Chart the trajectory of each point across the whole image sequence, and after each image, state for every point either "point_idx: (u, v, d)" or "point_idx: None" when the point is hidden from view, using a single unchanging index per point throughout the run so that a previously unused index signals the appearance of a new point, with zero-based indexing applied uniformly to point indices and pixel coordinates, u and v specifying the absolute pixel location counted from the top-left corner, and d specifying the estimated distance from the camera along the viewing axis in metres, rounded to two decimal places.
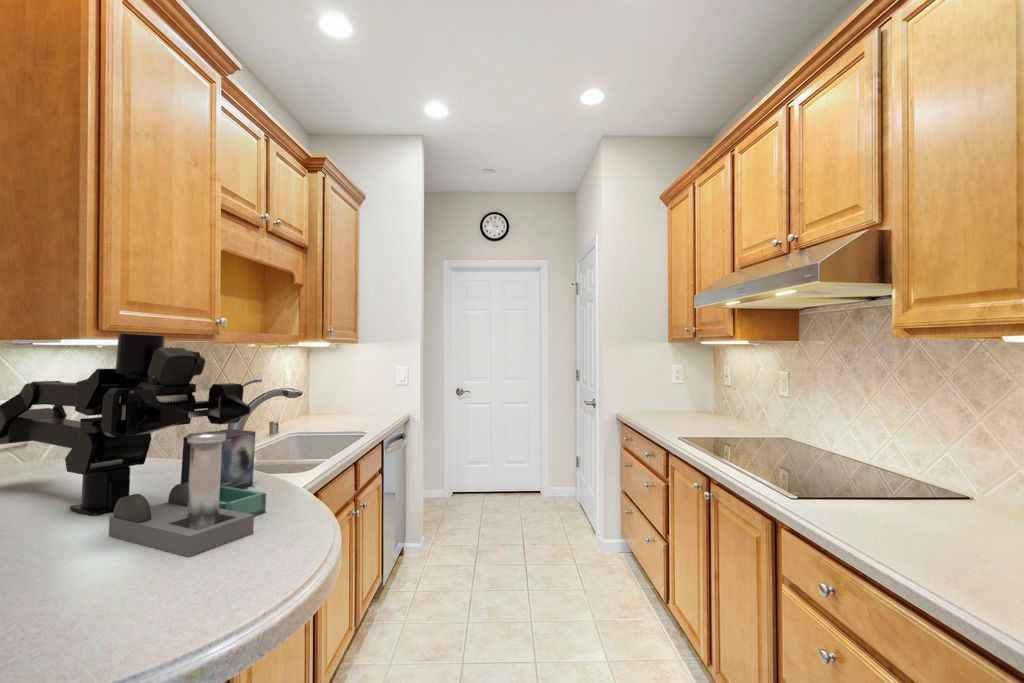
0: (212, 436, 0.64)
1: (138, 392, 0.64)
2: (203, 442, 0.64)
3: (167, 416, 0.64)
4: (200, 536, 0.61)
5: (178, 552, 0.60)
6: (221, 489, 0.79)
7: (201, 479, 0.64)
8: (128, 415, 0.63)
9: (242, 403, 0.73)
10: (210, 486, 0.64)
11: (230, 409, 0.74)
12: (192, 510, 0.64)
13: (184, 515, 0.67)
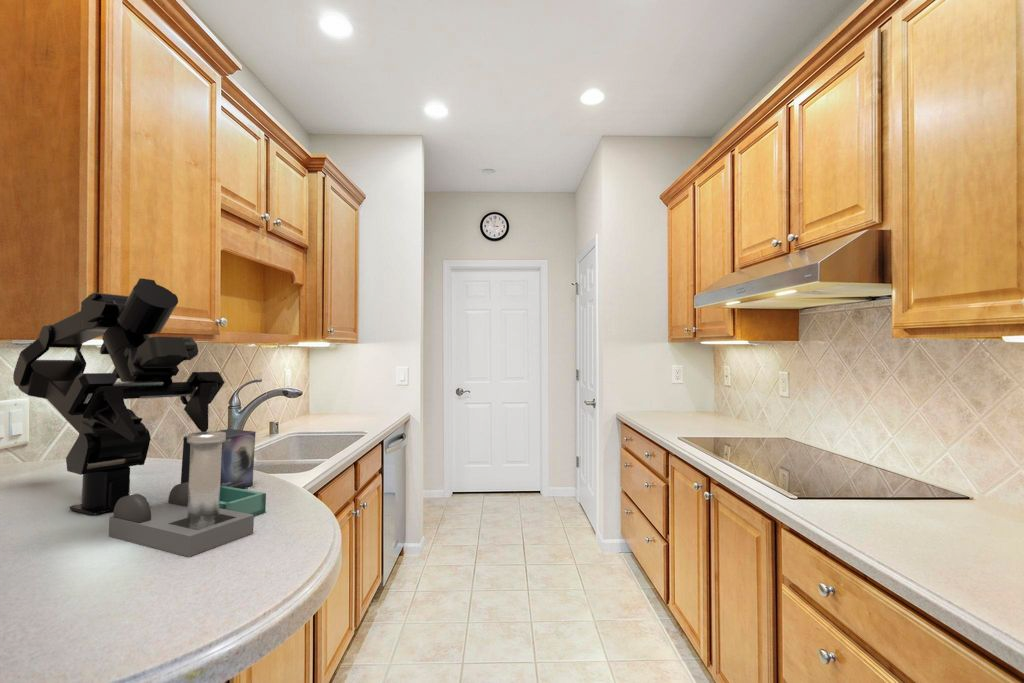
0: (212, 436, 0.64)
1: (106, 390, 0.65)
2: (203, 442, 0.64)
3: (120, 426, 0.65)
4: (200, 536, 0.61)
5: (178, 552, 0.60)
6: (221, 489, 0.79)
7: (201, 479, 0.64)
8: (89, 405, 0.65)
9: (205, 418, 0.74)
10: (210, 486, 0.64)
11: (195, 411, 0.75)
12: (192, 510, 0.63)
13: (184, 515, 0.67)
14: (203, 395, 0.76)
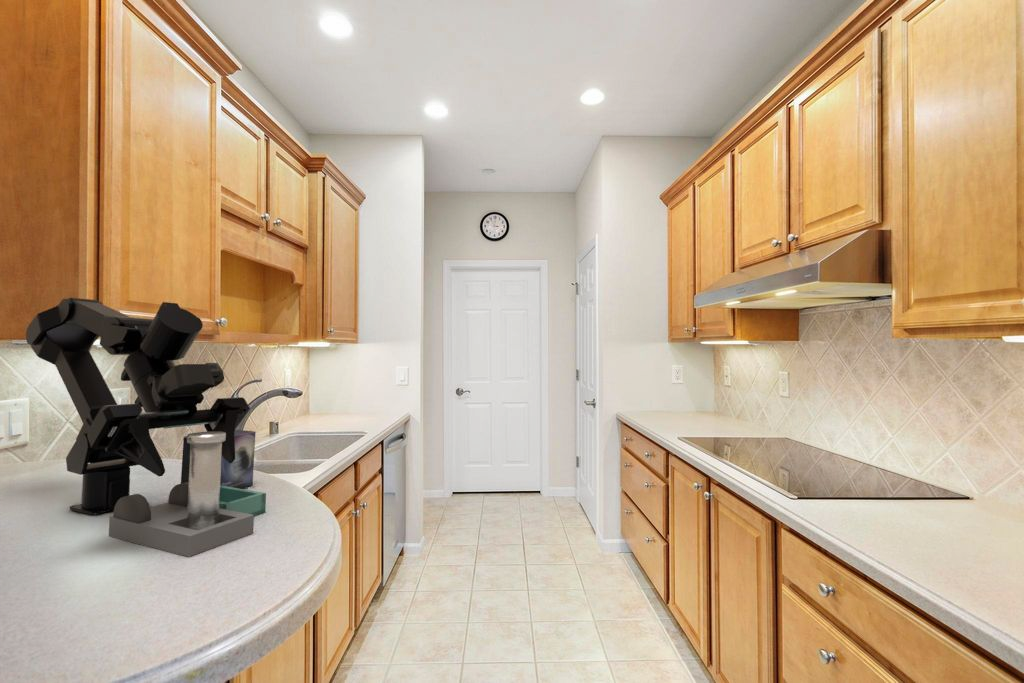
0: (212, 436, 0.64)
1: (132, 423, 0.61)
2: (203, 442, 0.64)
3: (146, 460, 0.62)
4: (200, 536, 0.61)
5: (178, 552, 0.60)
6: (221, 489, 0.79)
7: (201, 479, 0.64)
8: (114, 439, 0.61)
9: (231, 448, 0.71)
10: (210, 486, 0.64)
11: None
12: (192, 510, 0.63)
13: (184, 515, 0.67)
14: (229, 423, 0.72)
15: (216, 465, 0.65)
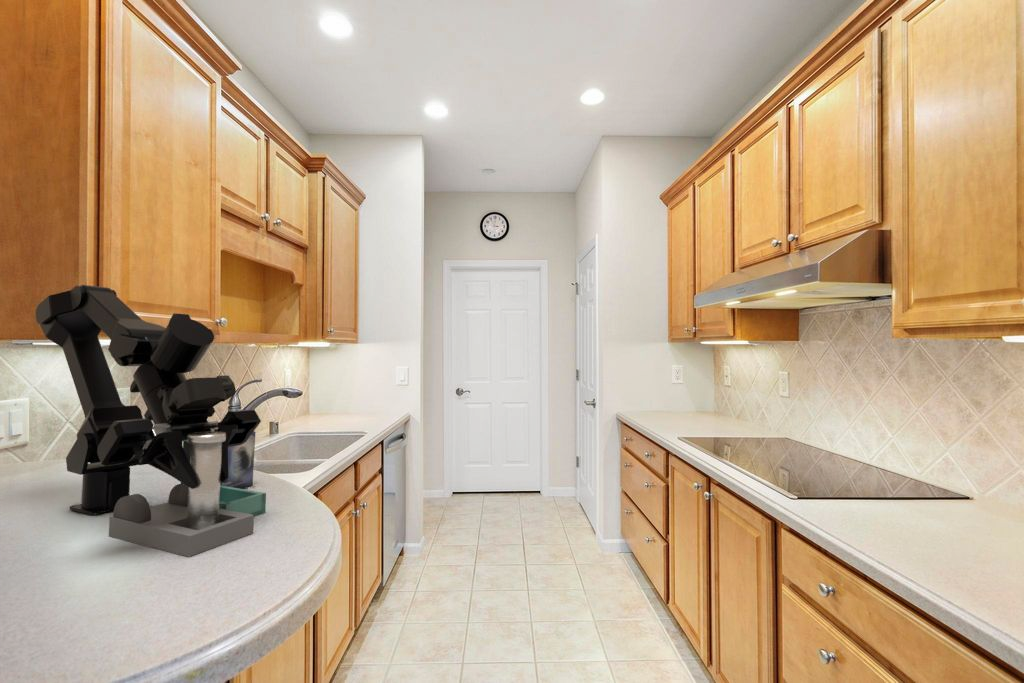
0: (212, 436, 0.64)
1: (166, 436, 0.62)
2: (203, 442, 0.64)
3: (180, 473, 0.63)
4: (200, 536, 0.61)
5: (178, 552, 0.60)
6: (221, 489, 0.79)
7: (201, 479, 0.64)
8: (148, 452, 0.62)
9: (224, 466, 0.67)
10: (210, 486, 0.64)
11: None
12: (192, 510, 0.63)
13: (184, 515, 0.67)
14: None
15: (216, 465, 0.65)
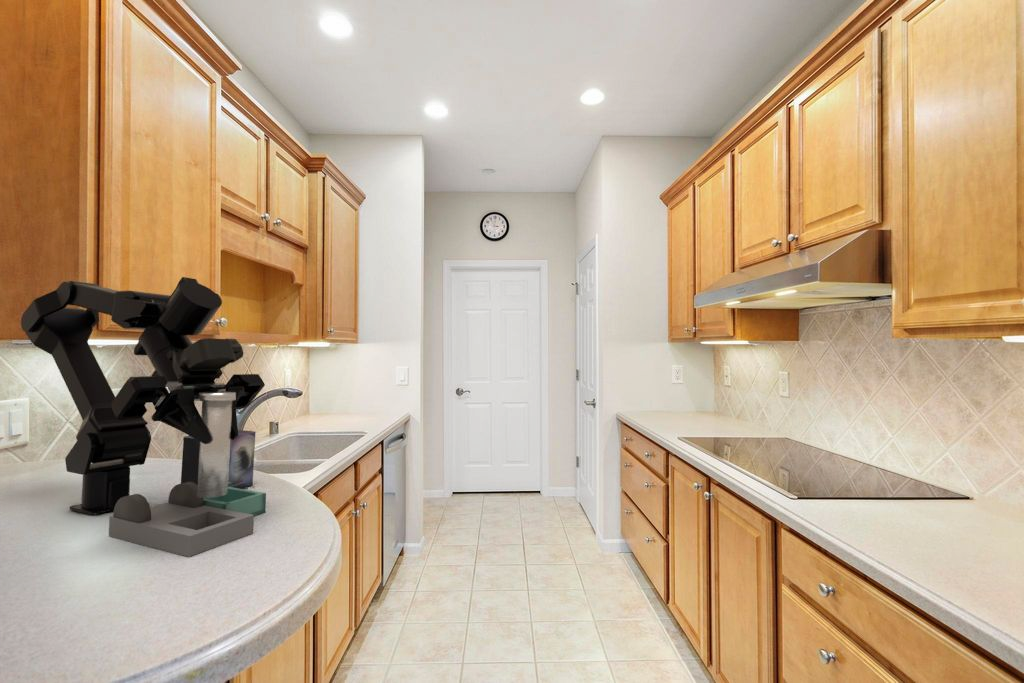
0: (224, 394, 0.67)
1: (180, 393, 0.65)
2: (216, 399, 0.66)
3: (193, 429, 0.65)
4: (200, 536, 0.61)
5: (178, 552, 0.60)
6: None
7: (213, 435, 0.66)
8: (162, 408, 0.64)
9: (234, 424, 0.70)
10: (222, 442, 0.67)
11: None
12: (205, 465, 0.66)
13: (184, 515, 0.67)
14: None
15: (227, 422, 0.68)
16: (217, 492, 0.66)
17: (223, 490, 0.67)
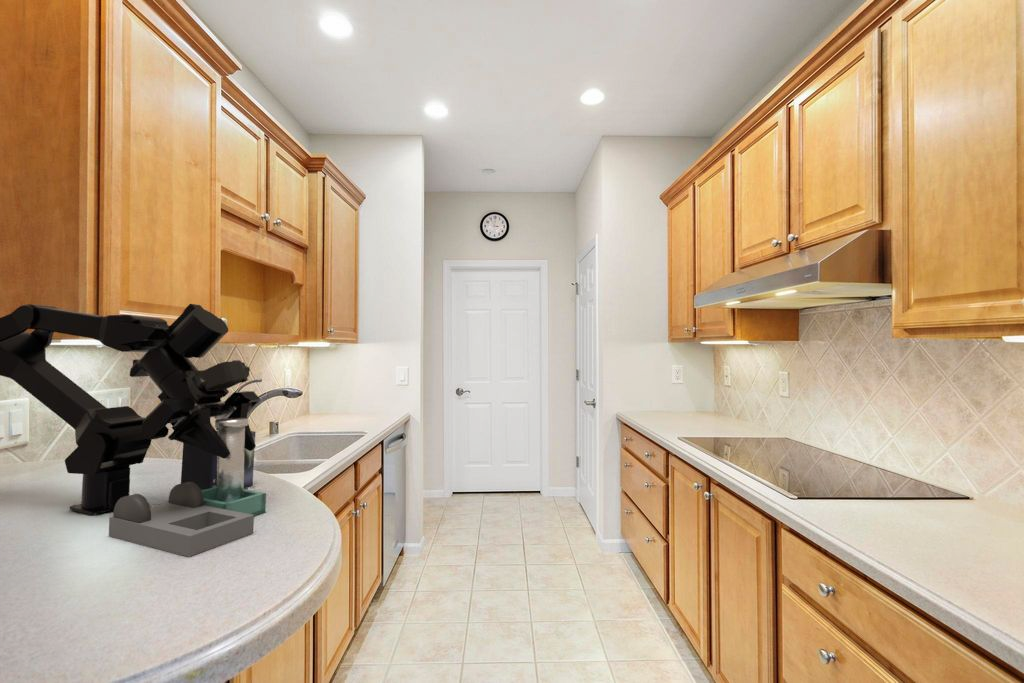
0: (242, 420, 0.75)
1: (201, 413, 0.70)
2: (235, 426, 0.74)
3: (211, 445, 0.71)
4: (200, 536, 0.61)
5: (178, 552, 0.60)
6: None
7: (233, 458, 0.74)
8: (182, 428, 0.70)
9: (250, 437, 0.78)
10: (240, 463, 0.75)
11: None
12: (226, 485, 0.73)
13: (184, 515, 0.67)
14: (243, 415, 0.79)
15: (243, 445, 0.75)
16: None
17: None
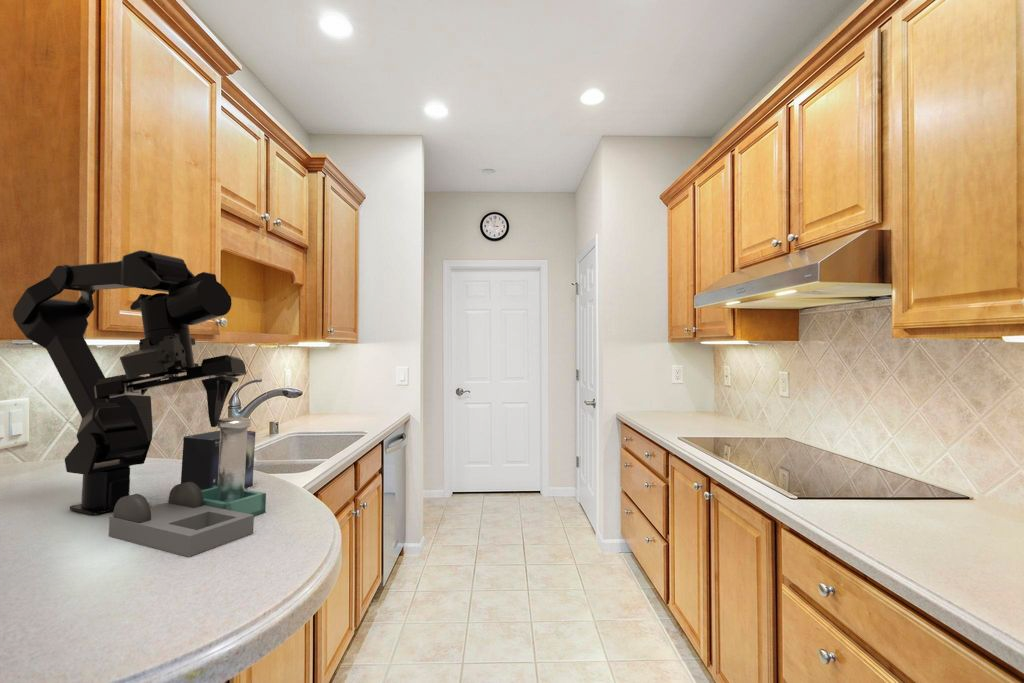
0: (244, 422, 0.74)
1: (113, 400, 0.70)
2: (238, 427, 0.73)
3: None
4: (200, 536, 0.61)
5: (178, 552, 0.60)
6: None
7: (235, 459, 0.73)
8: None
9: (211, 415, 0.73)
10: (242, 464, 0.74)
11: None
12: (226, 486, 0.73)
13: (184, 515, 0.67)
14: (210, 389, 0.73)
15: (245, 446, 0.75)
16: None
17: None
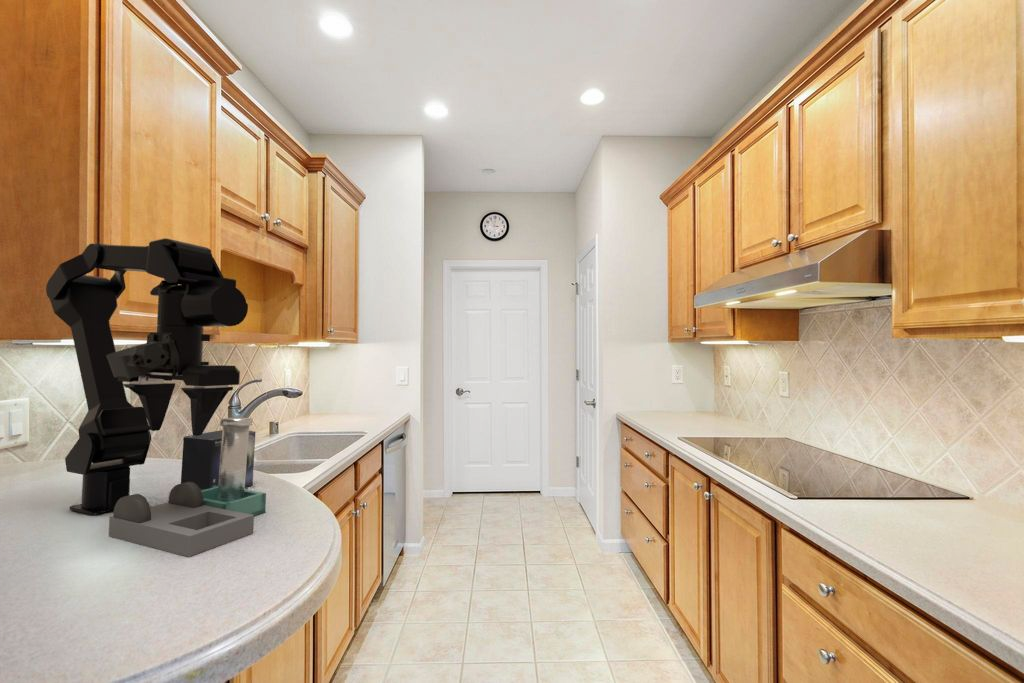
0: (246, 419, 0.75)
1: (127, 387, 0.72)
2: (240, 424, 0.75)
3: None
4: (200, 536, 0.61)
5: (178, 552, 0.60)
6: None
7: (236, 456, 0.74)
8: None
9: (192, 424, 0.69)
10: (242, 462, 0.75)
11: None
12: (227, 484, 0.74)
13: (184, 515, 0.67)
14: (191, 398, 0.68)
15: (246, 445, 0.76)
16: None
17: None
